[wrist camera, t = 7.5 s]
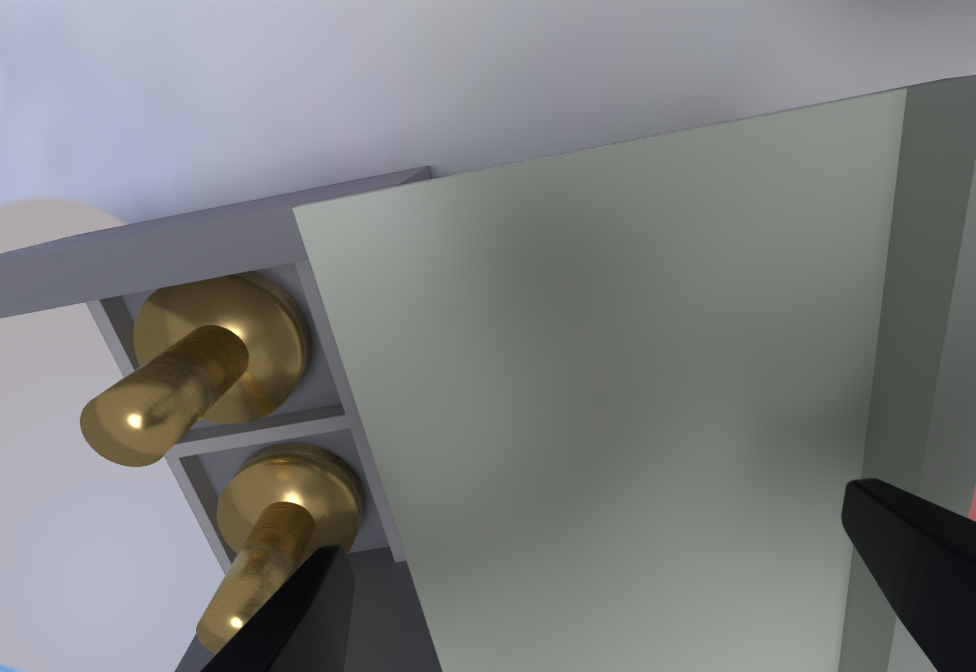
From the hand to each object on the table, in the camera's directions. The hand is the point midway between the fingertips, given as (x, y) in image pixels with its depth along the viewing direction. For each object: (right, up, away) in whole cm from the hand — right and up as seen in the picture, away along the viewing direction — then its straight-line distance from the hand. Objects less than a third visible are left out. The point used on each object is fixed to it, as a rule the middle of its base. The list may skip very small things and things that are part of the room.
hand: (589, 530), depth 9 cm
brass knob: (-10, -3, +13) cm, 17 cm away
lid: (+2, 0, +4) cm, 5 cm away
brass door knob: (-11, +3, +10) cm, 15 cm away
